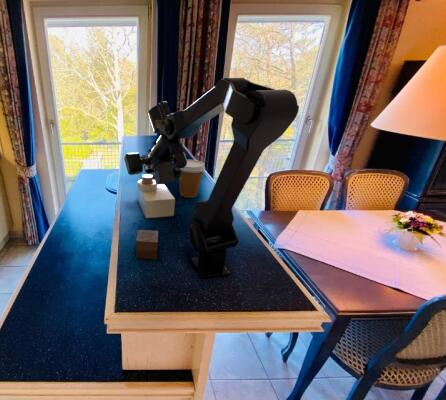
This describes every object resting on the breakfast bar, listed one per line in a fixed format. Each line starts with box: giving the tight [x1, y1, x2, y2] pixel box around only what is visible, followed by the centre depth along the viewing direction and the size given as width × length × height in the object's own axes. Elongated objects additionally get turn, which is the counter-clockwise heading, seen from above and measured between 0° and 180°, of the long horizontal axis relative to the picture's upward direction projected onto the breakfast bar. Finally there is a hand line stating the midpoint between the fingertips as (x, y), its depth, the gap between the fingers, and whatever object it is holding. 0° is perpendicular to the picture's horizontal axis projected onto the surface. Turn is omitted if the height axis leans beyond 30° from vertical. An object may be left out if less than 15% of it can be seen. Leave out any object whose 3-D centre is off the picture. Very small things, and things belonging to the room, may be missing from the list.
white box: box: [136, 178, 176, 219], centre depth 87 cm, size 13×10×8 cm
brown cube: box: [135, 229, 159, 260], centre depth 65 cm, size 5×5×5 cm
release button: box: [141, 173, 154, 185], centre depth 87 cm, size 4×4×3 cm
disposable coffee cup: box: [178, 159, 206, 199], centre depth 95 cm, size 10×10×12 cm
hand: (147, 173), depth 86 cm, fingers closed
